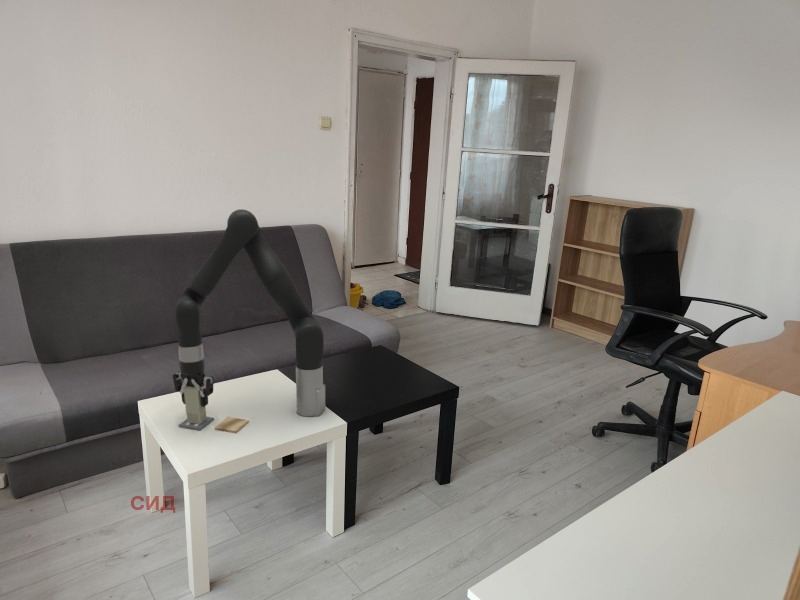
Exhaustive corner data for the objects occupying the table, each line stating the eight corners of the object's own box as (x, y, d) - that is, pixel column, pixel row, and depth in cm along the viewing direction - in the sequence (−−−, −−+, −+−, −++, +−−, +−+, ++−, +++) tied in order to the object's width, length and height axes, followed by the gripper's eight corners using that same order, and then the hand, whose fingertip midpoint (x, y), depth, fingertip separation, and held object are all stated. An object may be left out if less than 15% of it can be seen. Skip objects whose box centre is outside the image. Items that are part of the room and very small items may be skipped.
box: (207, 418, 188) (204, 383, 185) (201, 424, 184) (198, 388, 180) (192, 417, 189) (189, 381, 185) (185, 423, 184) (182, 387, 181)
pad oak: (249, 422, 188) (248, 420, 188) (236, 433, 181) (236, 431, 180) (227, 418, 190) (227, 416, 190) (214, 429, 183) (214, 427, 182)
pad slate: (214, 419, 189) (213, 417, 189) (200, 430, 182) (199, 428, 182) (193, 416, 191) (193, 413, 191) (178, 427, 184) (178, 424, 183)
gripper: (217, 355, 182) (220, 402, 186) (179, 350, 185) (183, 397, 190) (204, 364, 175) (207, 412, 179) (164, 358, 178) (169, 406, 183)
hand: (195, 404), depth 185 cm, fingers open, 6 cm apart
